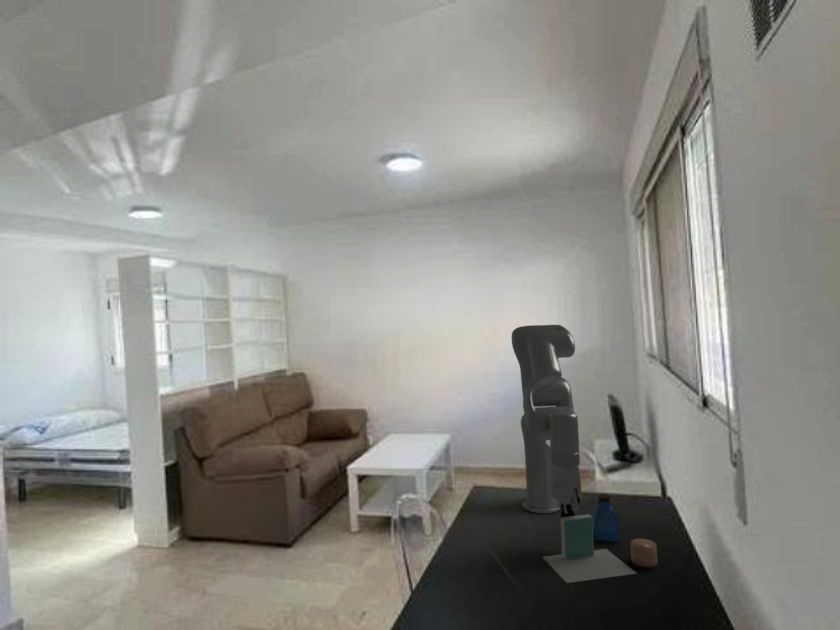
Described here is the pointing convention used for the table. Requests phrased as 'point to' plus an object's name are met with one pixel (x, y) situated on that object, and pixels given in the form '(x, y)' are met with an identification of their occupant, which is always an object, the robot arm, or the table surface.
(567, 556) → the tile
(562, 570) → the mat
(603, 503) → the perfume bottle
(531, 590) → the table surface
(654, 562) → the brown rounded cylinder
